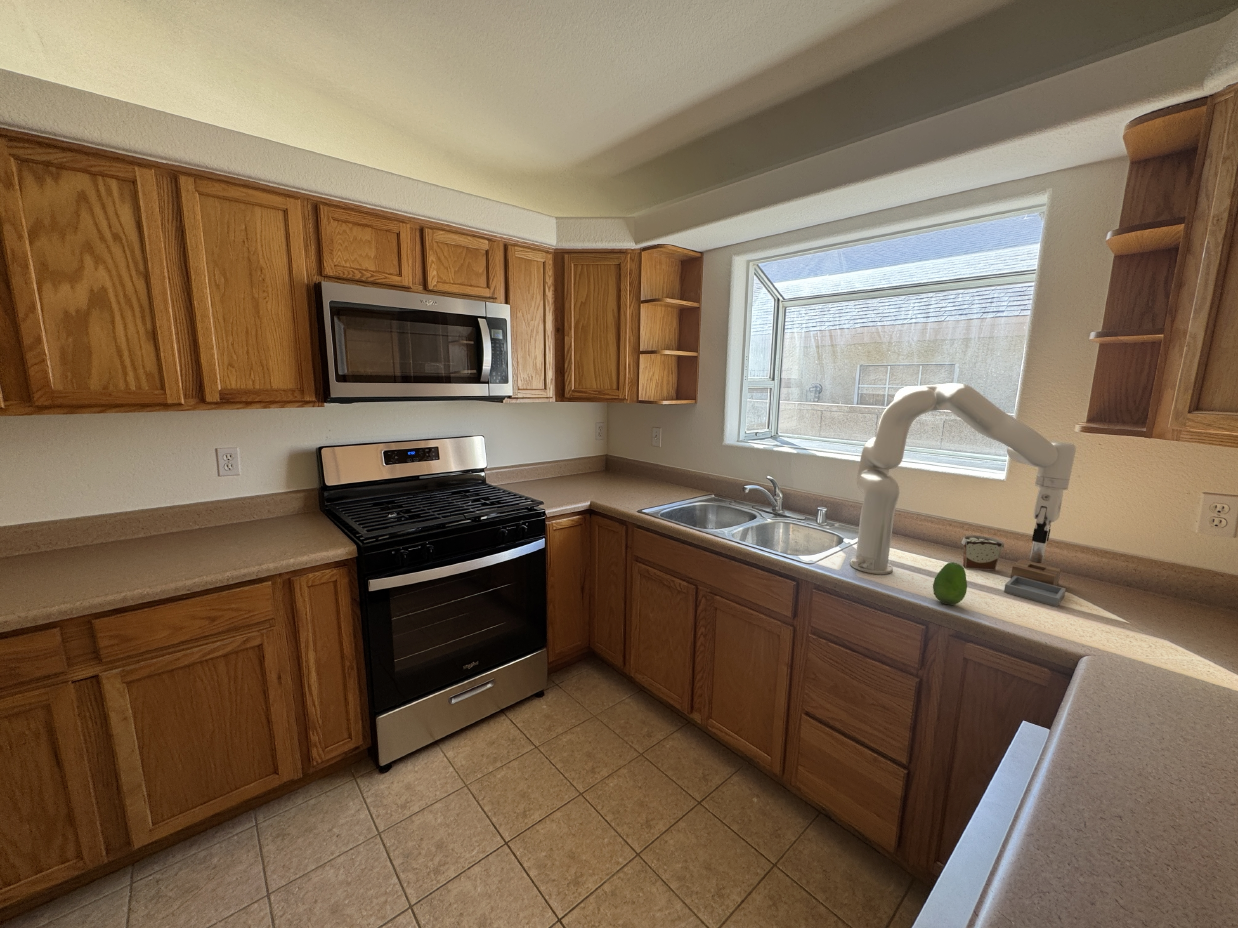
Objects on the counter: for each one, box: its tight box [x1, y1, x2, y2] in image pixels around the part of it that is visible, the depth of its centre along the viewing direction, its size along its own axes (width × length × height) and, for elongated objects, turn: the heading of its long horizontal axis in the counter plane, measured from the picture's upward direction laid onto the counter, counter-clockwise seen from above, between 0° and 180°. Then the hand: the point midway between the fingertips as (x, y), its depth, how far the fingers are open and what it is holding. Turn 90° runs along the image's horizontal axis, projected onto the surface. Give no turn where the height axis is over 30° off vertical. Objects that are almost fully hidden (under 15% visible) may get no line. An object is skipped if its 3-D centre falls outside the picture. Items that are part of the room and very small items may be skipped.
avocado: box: [932, 562, 968, 605], centre depth 137 cm, size 8×8×12 cm
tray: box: [1003, 575, 1067, 608], centre depth 145 cm, size 11×12×2 cm
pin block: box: [1010, 558, 1062, 586], centre depth 154 cm, size 10×10×5 cm
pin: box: [1029, 525, 1051, 564], centre depth 152 cm, size 3×3×12 cm
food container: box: [961, 534, 1005, 571], centre depth 166 cm, size 12×6×10 cm, turn 84°
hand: (1040, 540), depth 152 cm, fingers closed on pin, 3 cm apart
